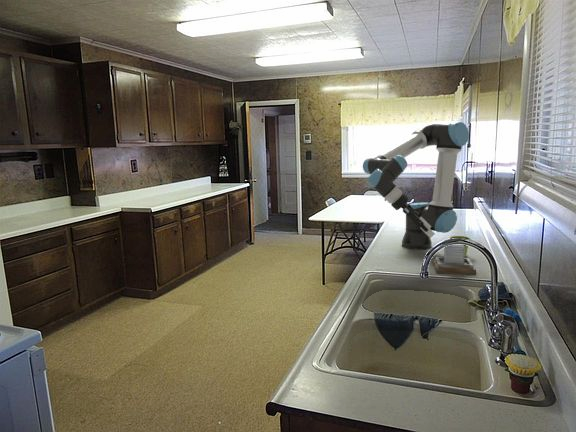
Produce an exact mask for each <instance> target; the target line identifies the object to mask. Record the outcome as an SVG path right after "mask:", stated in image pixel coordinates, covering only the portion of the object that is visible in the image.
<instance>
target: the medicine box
mask: <svg viewBox="0 0 576 432" xmlns="http://www.w3.org/2000/svg"><path fill="white" fill-rule="evenodd" d="M443 249H444V250H443V257H444V263H451V264H464V258H465V256H464V254H465V247H464V246H463V245H450V246H447V247H445V248H444V247H443Z"/></svg>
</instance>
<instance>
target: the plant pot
mask: <svg viewBox="0 0 576 432" xmlns="http://www.w3.org/2000/svg"><path fill="white" fill-rule="evenodd" d="M452 238H465V239H470V241H471V239H472V238H471V237H468V236H465V235H453V236H450V237H449V239H450V240H451V239H452ZM463 246H464V247H465V254H464V257H466V256H467V253H468V249H469V245H468V246H466V245H463Z"/></svg>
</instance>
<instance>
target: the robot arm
mask: <svg viewBox="0 0 576 432" xmlns="http://www.w3.org/2000/svg"><path fill="white" fill-rule="evenodd" d="M469 136H470V132H469V128H468V127H467V125H466V123H464V122H462V121H459V120H457V121H456V120H452V121H451V120H450V121H449V120H447V121H435V122H430V123H428V124H426V125H423V126H422V127H420V128H417V130H415V131H413V133H412V134H411V136H409V137H407V138H405V139H404V140H402V141H400V142H399V143H398V144H395V145H394V146H392V147H390V148H389V149H387V150H385V151H383V153H381V154H379V155H377V156H376V157H373V158H372V157H370V158H366V159H365V160H364V161H363V162H362V163H363V164H362V170H363V172H364V173H365V174H367V175H368V177H367V179H366V181H367V183H368V184H369V185H370V186H371V188H373V189H374V190H375V191H376V192H377V193H378V194H379V195H380V196H381V197H383V200H384V201H385V202H387V203H388V204H390V205H391V207H392V208H393V209H394V210H395V211H399V210H400V209H402V212H403V213H404V214H405V232H404V235H403V237H402V240H401V246H402V247H404V248H406V249H411V250H427V249H431V248H432V246H433V245H432V239H431V238H432V237H433V236H435V234H436V233H435V232H437V233H444V234H446V233H449V232H451V231H452V229H454V227H455V226H456V224H457V221H458V215H457V212H456V211H455V210H454V205H453V204H452V202H451V201H452V195H453V187H454V183H455V182H454V181H455V174H456V168H457V167H456V166H457V162H458V161H457V160H458V154H459V153H460V152H461V151H462V149H463V146H465V145H466V144H467V143H468V141H469V138H470V137H469ZM431 146H436V147H435V149H436V151H438V158H437V163H436V170H435V171H436V172H435V180H434V186H433V192H432V193H433V194H432V201H430V202H413V203H408V201H409V197H408V196H407V195H406V194H405V193H404V192H403V191H402V190H401V189H400V188H399V187H398V186H397V185H396V184H395V183H394V182H395V181H396V180H397V179H398V177H400V176H401V174H402V173H404V172H405V170H406V169H407V167H408V162H407V160H406V158H407V157H408V156H409V155H411V154H413V153H414V152H416V151H418V150H419V149H420V150H422V149H425V148H426V147H431Z"/></svg>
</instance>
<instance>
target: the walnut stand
mask: <svg viewBox="0 0 576 432" xmlns="http://www.w3.org/2000/svg"><path fill="white" fill-rule="evenodd" d="M432 266H433V267H434V270H435V272H436V274H455V275H457V274H459V275H476V274H477V269H476V268H475V266H474V264H473V262H472V261H471V259H470V257H464V264H451V263H444V256H435V257H434V258H432Z"/></svg>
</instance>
